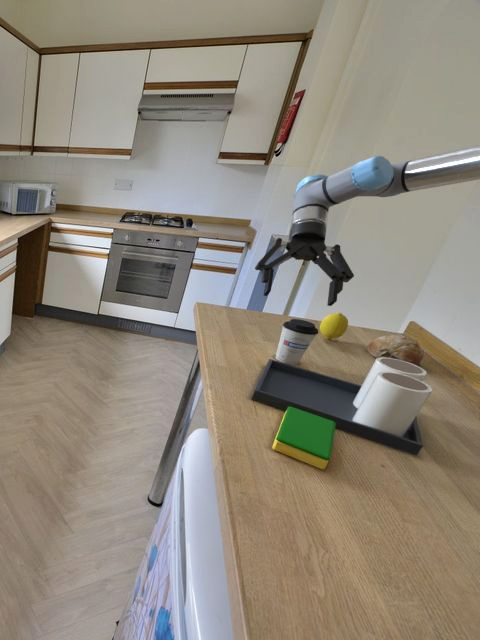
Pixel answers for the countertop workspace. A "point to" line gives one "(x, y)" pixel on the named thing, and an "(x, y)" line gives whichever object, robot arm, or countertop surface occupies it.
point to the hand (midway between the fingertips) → (298, 298)
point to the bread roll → (397, 348)
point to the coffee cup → (295, 340)
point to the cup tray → (326, 402)
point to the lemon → (334, 326)
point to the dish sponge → (305, 437)
